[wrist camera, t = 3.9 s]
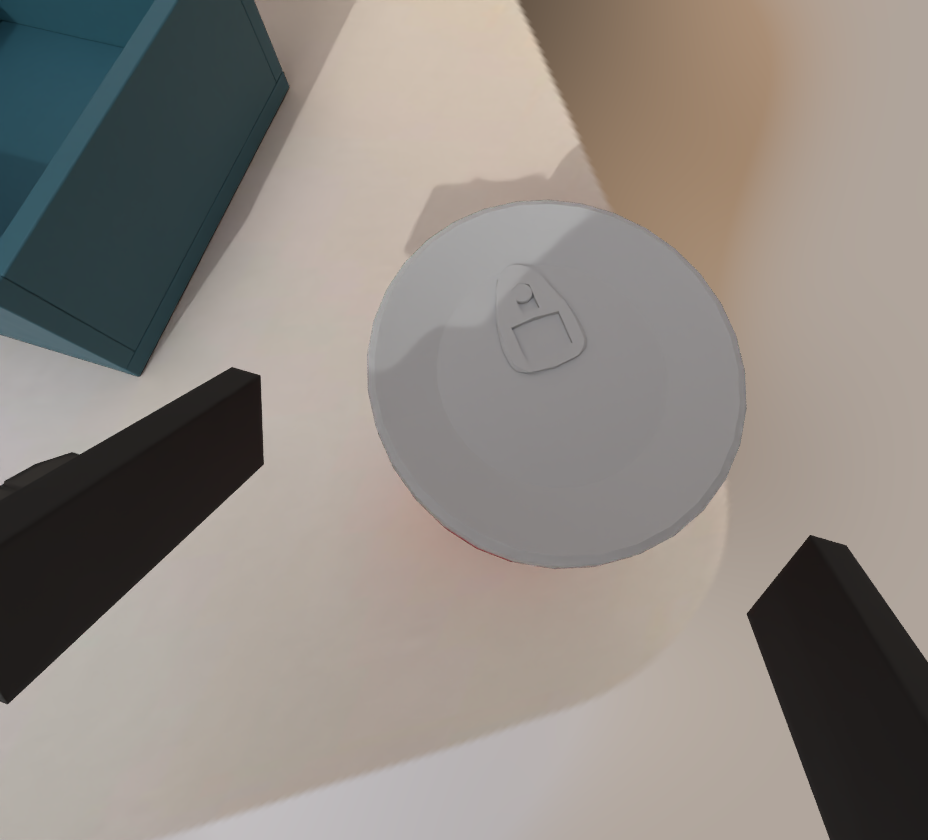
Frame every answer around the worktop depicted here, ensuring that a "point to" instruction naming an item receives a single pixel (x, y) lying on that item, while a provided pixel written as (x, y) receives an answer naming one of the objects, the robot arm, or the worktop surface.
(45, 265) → the cool box
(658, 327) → the canned food
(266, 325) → the worktop surface
